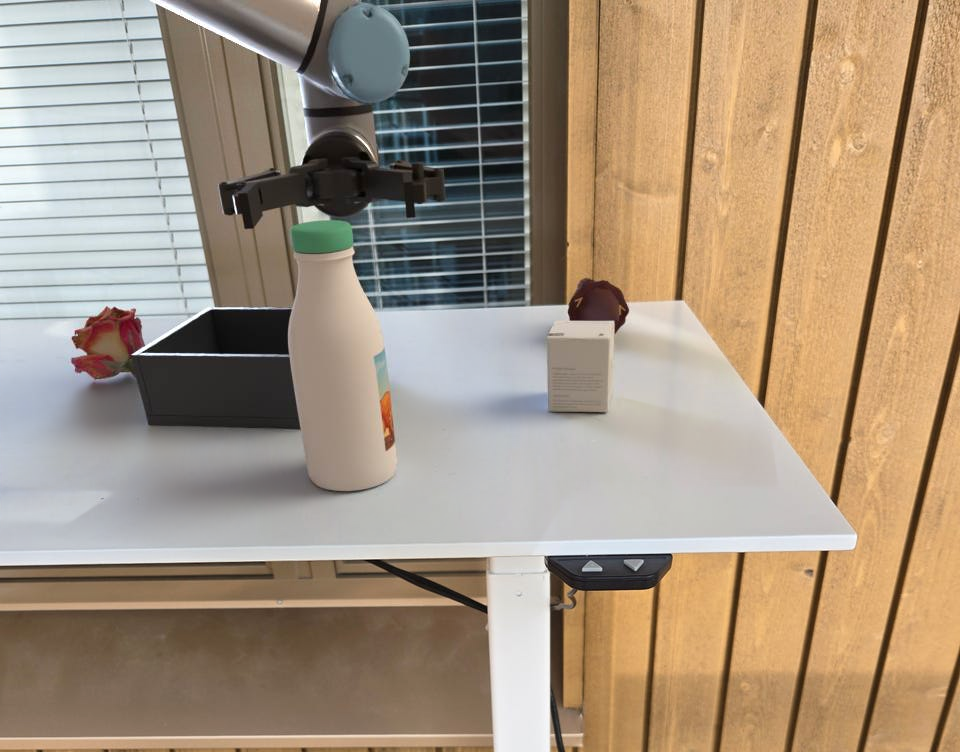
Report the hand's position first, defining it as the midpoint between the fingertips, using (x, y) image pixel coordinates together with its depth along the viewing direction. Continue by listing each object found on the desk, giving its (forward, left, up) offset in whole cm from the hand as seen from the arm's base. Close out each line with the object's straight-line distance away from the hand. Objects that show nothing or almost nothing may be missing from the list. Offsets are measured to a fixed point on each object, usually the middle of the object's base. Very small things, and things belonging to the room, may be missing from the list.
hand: (327, 205), depth 74 cm
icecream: (+21, +32, -20) cm, 43 cm away
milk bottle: (+3, -9, -20) cm, 22 cm away
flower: (-33, +15, -20) cm, 42 cm away
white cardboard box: (+21, +10, -20) cm, 30 cm away
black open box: (-13, +10, -20) cm, 26 cm away
